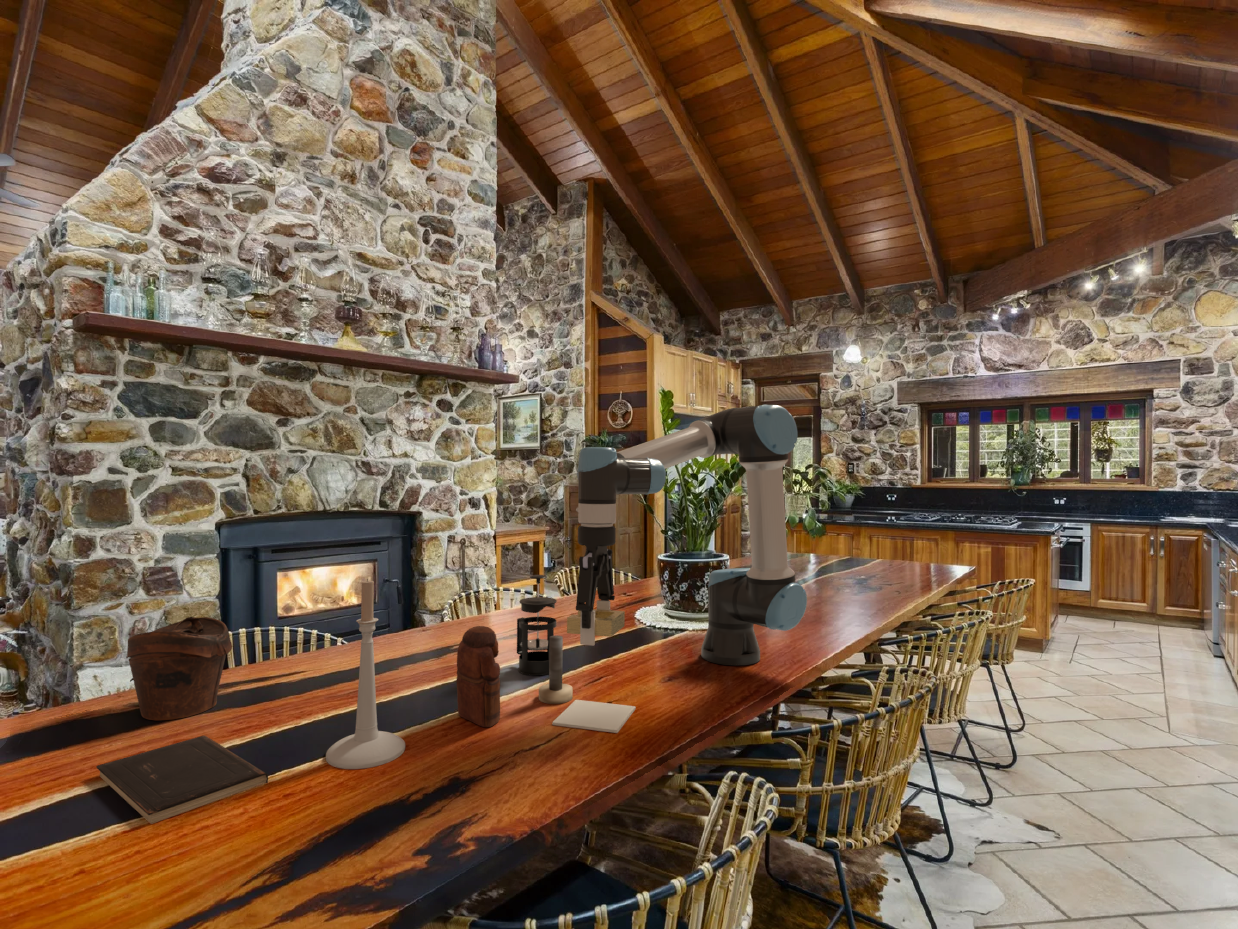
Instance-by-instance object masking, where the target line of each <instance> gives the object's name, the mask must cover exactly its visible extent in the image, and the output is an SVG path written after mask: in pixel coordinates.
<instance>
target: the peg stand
mask: <svg viewBox="0 0 1238 929" xmlns="http://www.w3.org/2000/svg"><path fill="white" fill-rule="evenodd" d="M563 639H564V638H563V636H562V635H554V636H550V643H549V674H548V675H549V676H548V679H549V680H548V683H547V684H543V685H541V686H539V687H538V700H539V701H540V702H541V703H545V704H550V705H557V704H558V705H560V704H565V703H568V702H570V701H572V699H573V690H574V689H573V688H574V687H573V686H572V685H570V684H568V683H563V659H564V658H563V657H564V656H563V650H564V647H563V646H564V644H563V641H564V640H563Z"/></svg>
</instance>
